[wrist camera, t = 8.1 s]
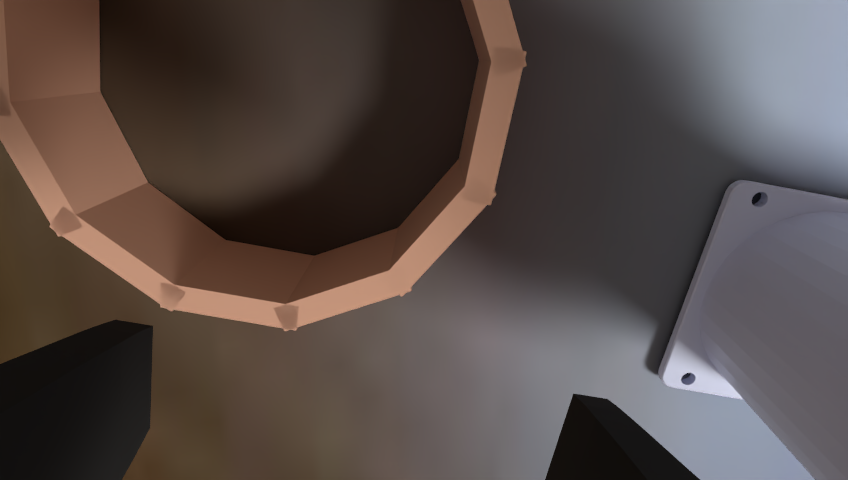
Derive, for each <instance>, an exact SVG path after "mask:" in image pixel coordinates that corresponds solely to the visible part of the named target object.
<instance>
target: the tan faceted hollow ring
mask: <svg viewBox="0 0 848 480" xmlns="http://www.w3.org/2000/svg"><path fill="white" fill-rule="evenodd" d="M461 3H462V6H463V9H464V12H465V16H466V19H467V22H468V25H469V29H470V32H471V35H472V38H473V42H474V45H475V48H476V51H477V55H478V58H479V63H478V68H477V73H476V78H475V82H474V87H473V92H472V97H471V102H470V107H469V112H468V116H467V121H466V126H465V131H464V136H463V141H462V146H461V150H460V155H459V159H458V160H457V161H456V163H455V164H454V165H453V166H452V167H451V168H450V169H449V170H448V172H447V173H446V174H445V175H444V176H443V177H442V178H441V180H440V181H439V182H438V183H437V184H436V185H435V186H434V188H433V189H432V190H431V191H430V192H429V193H428V194H427V195H426V197H425V198H424V199H423V200H422V201H421V202H420V203H419V205H418V206H417V207H416V208H415V209H414V210H413V211H412V213H411V214H410V215H409V216H408V217H407V218H406V219H405V220H404V222H403V223H402V224H401V225H400V226H399V227H398V228H396V229H393V230H390V231H387V232H384V233H381V234H378V235H375V236H372V237H369V238H366V239H363V240H360V241H357V242H354V243H351V244H348V245H345V246H342V247H339V248H336V249H333V250H330V251H327V252H324V253H321V254H318V255H315V256H313V255H308V254H302V253H296V252H291V251H285V250H280V249H274V248H268V247H263V246H257V245H251V244H246V243H240V242H235V241H229V240H225V239H224V238H222V237H221V236H219V235H218V234H217V233H215V232H214V231H213V230H211V229H210V228H209V227H207V226H206V225H205V224H203V223H202V222H201V221H199V220H198V219H197V218H195V217H194V216H193V215H191V214H190V213H189V212H187V211H186V210H184V209H183V208H182V207H180V206H179V205H178V204H176V203H175V202H174V201H172V200H171V199H170V198H168V197H167V196H166V195H164V194H163V193H162V192H160V191H159V190H158V189H156V188H155V187H153V186H152V185H151V184H149V183H148V181H147V180H146V178H145V176H144V174H143V172H142V170H141V168H140V166H139V164H138V162H137V161H136V159H135V157H134V155H133V153H132V151H131V149H130V147H129V145H128V143H127V142H126V140H125V138H124V136H123V134H122V132H121V130H120V128H119V126H118V124H117V123H116V121H115V119H114V117H113V115H112V113H111V111H110V109H109V107H108V106H107V104H106V102H105V100H104V98H103V96H102V94H101V92H100V20H99V0H0V140H1V142H2V143H3V145H4V147H5V148H6V150H7V152H8V153H9V155H10V157H11V158H12V160H13V162H14V163H15V165H16V167H17V169H18V170H19V172H20V174H21V175H22V177H23V179H24V180H25V182H26V184H27V185H28V187H29V189H30V190H31V192H32V194H33V195H34V197H35V199H36V200H37V202H38V204H39V205H40V207H41V209H42V210H43V212H44V214H45V215H46V217H47V219H48V220H49V222H50V224H51V225H50V226H49V227H50V228H52V229H53V230H54V231H55V232H56V234H57V235H58V236H61V235H62V236H63V237H64V238H66V239H67V240H69V241H70V242H72V243H73V244H75V245H76V246H77V247H79V248H80V249H82V250H83V251H85V252H86V253H87V254H89V255H90V256H92V257H93V258H95V259H96V260H98V261H99V262H100V263H102V264H103V265H105V266H106V267H108V268H109V269H111V270H112V271H113V272H115V273H116V274H118V275H119V276H121V277H122V278H123V279H125V280H126V281H128V282H129V283H131V284H132V285H134V286H135V287H136V288H138V289H139V290H141V291H142V292H144V293H145V294H146V295H148V296H149V297H151V298H152V299H154V300H155V301H157V302H158V303H159V304H160V307H162V308H167V309H168V310H170V311H171V312H172V311H173V310H179V311H185V312H191V313H197V314H203V315H208V316H214V317H220V318H226V319H232V320H238V321H243V322H249V323H255V324H261V325H267V326H272V327H278V328H283V329H284V331H287V330H297V328H298V327H300V326H303V325H306V324H309V323H312V322H315V321H318V320H322V319H325V318H328V317H331V316H334V315H337V314H340V313H344V312H347V311H350V310H353V309H356V308H359V307H362V306H366V305H369V304H372V303H375V302H378V301H381V300H384V299H387V298H391V297H394V296H397V295H400V296H401V297H402V296H403V295H404V294H405V293H406V292H409V291H412V285H413V284H414V283H415V282H416V281H417V280H418V279H419V278H420V277H421V276H422V275H423V274H424V272H425V271H426V270H427V269H428V268H429V267H430V266H431V265H432V264H433V263H434V262H435V261H436V260H437V258H438V257H439V256H440V255H441V254H442V253H443V252H444V251H445V250H446V249H447V248H448V247H449V245H450V244H451V243H452V242H453V241H454V240H455V239H456V238H457V237H458V236H459V235H460V234H461V233H462V231H463V230H464V229H465V228H466V227H467V226H468V225H469V224H470V223H471V222H472V221H473V220H474V218H475V217H476V216H477V215H478V214H479V213H480V212H481V211H482V210H483V209H484V208H485V207H486V205H491V203H492V199H493V198H494V197H495V196H496V195H497V193H496V191H495V186H496V181H497V177H498V173H499V168H500V164H501V160H502V155H503V151H504V147H505V143H506V138H507V134H508V130H509V125H510V121H511V117H512V112H513V108H514V104H515V99H516V95H517V91H518V87H519V82H520V78H521V74H522V69H523V67H525V66H527V64H526V61H525V56H526V52H527V51H523V50H522V47H521V43H520V39H519V36H518V32H517V29H516V25H515V22H514V18H513V15H512V11H511V7H510V4H509V0H461Z"/></svg>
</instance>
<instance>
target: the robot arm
mask: <svg viewBox="0 0 848 480" xmlns="http://www.w3.org/2000/svg"><path fill="white" fill-rule="evenodd" d="M758 192H761V199H760V200H759V201H758V202H757V203H755V204H752V198H753V196H754V195H755V194H756V193H758ZM152 338H153V326H150V325H144V324H138V323H132V322H125V321H119V320H113V321H110V322H107V323H104V324H101V325H98V326H95V327H92V328H90V329H87V330H84V331H82V332H79V333H77V334H74V335H72V336H69V337H67V338H64V339H62V340H59V341H57V342H54V343H52V344H49V345H47V346H44V347H42V348H39V349H37V350H34V351H32V352H29V353H27V354H24V355H22V356H19V357H17V358H14V359H12V360H9V361H7V362H4V363H2V364H0V480H122V478H123V476H124V475H125V473H126V471H127V469H128V468H129V466H130V464H131V462H132V460H133V459H134V457H135V455H136V453H137V451H138V449H139V447H140V446H141V444H142V442H143V440H144V438H145V436H146V434H147V432H148V430H149V428H150V407H151V372H152ZM686 373H691V374H690V376H689V377H688V378H686V379H681V378H682V376H683V375H684V374H686ZM658 375H659V378H660V379H661V381H662V382H663V383H664V384H665V385H666V386H668V387H672V388H678V389H684V390H689V391H695V392H701V393H707V394H713V395H718V396H724V397H730V398H736V399H742V400H745V402H746V403H747V404H748V405H749V406H750V407H751V408H752V409H753V410H754V412H755V413H756V414H757V415H758V416H759V417H760V418H761V419H762V421H763V422H764V423H765V424H766V425H767V426H768V427H769V428H770V430H771V431H772V432H773V433H774V434H775V435H776V436H777V437H778V438H779V440H780V441H781V442H782V443H783V444H784V445H785V446H786V447H787V449H788V450H789V451H790V452H791V453H792V454H793V455H794V456H795V458H796V459H797V460H798V461H799V462H800V463H801V464H802V465H803V466H804V468H805V469H806V470H807V471H808V472H809V473H810V474H811V475H812V477H813V478H814V479H815V480H848V199H843V198H838V197H833V196H827V195H822V194H817V193H811V192H806V191H801V190H796V189H790V188H785V187H780V186H774V185H769V184H764V183H759V182H753V181H748V180H738V181H735V182H733V183H732V184H731V185H730V186H729V187H728V188H727V190H726V192H725V194H724V197H723V199H722V202H721V205H720V207H719V210H718V213H717V215H716V218H715V221H714V223H713V226H712V229H711V231H710V234H709V237H708V239H707V242H706V245H705V247H704V250H703V253H702V255H701V258H700V261H699V263H698V266H697V269H696V271H695V274H694V277H693V279H692V282H691V285H690V287H689V290H688V293H687V295H686V298H685V301H684V303H683V306H682V309H681V311H680V314H679V317H678V319H677V322H676V325H675V327H674V330H673V333H672V335H671V338H670V341H669V343H668V346H667V349H666V351H665V354H664V357H663V359H662V362H661V365H660V367H659V371H658ZM545 480H700V479H699V478H697V477H696V476H695V475H694V474H693V473H692V472H691V471H689V470H688V469H687V468H686V467H685V466H684V465H683V464H682V463H681V462H679V461H678V460H677V459H676V458H675V457H674V456H673V455H672V454H670V453H669V452H668V451H667V450H666V449H665V448H664V447H663V446H662V445H660V444H659V443H658V442H657V441H656V440H655V439H654V438H653V437H652V436H650V435H649V434H648V433H647V432H646V431H645V430H644V429H643V428H642V427H640V426H639V425H638V424H637V423H636V422H635V421H634V420H632V419H631V418H630V417H629V416H628V415H627V414H625V413H624V412H623V411H622V410H621V409H619V408H618V407H617V406H616V405H614V404H613V403H612V402H610V401H609V400H608V399H603V398H597V397H591V396H585V395H578V394H573V397H572V400H571V403H570V406H569V409H568V412H567V415H566V418H565V421H564V424H563V427H562V430H561V433H560V436H559V439H558V442H557V445H556V448H555V451H554V455H553V458H552V461H551V464H550V467H549V470H548V473H547V476H546V479H545Z"/></svg>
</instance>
